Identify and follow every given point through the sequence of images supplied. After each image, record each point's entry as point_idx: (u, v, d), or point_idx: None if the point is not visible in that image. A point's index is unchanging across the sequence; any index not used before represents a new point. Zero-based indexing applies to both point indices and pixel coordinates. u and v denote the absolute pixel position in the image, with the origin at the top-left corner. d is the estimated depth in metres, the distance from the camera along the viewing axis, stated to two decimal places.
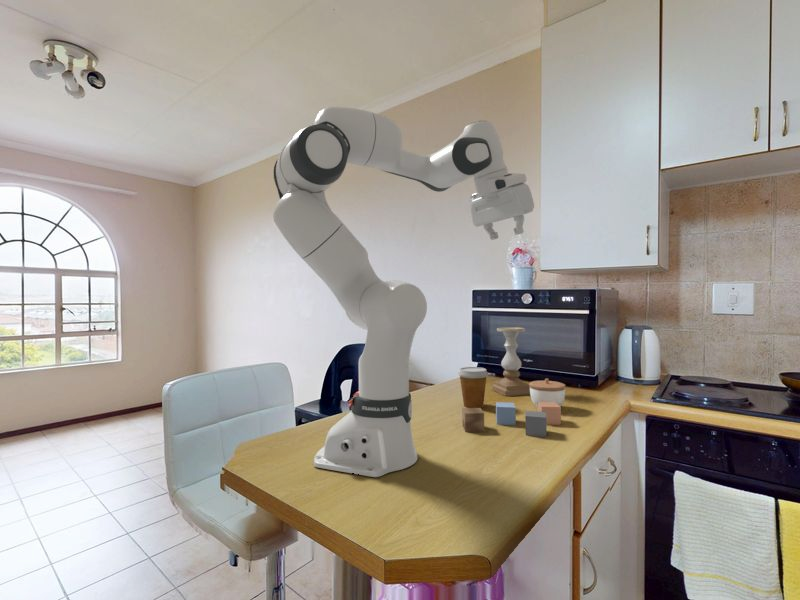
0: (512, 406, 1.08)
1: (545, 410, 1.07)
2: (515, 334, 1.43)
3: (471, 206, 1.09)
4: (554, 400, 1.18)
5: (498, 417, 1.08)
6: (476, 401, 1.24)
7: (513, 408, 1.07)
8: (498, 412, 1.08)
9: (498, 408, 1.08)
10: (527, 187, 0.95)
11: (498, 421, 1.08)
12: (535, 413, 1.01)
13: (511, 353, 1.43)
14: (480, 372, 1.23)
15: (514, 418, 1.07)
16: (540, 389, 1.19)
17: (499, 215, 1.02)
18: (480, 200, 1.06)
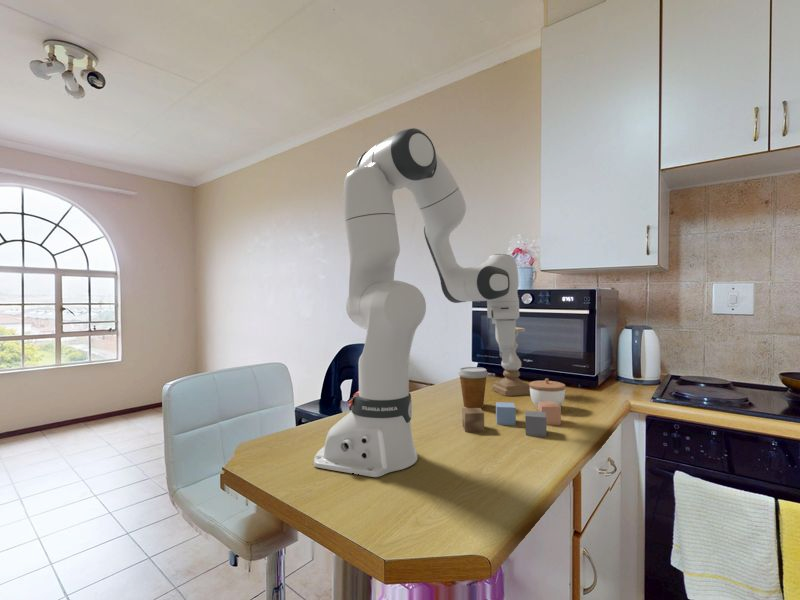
0: (512, 406, 1.08)
1: (545, 410, 1.07)
2: (515, 334, 1.43)
3: None
4: (554, 400, 1.18)
5: (498, 417, 1.08)
6: (476, 401, 1.24)
7: (513, 408, 1.07)
8: (498, 412, 1.08)
9: (498, 408, 1.08)
10: (512, 325, 1.01)
11: (498, 421, 1.08)
12: (534, 413, 1.01)
13: (511, 353, 1.43)
14: (480, 372, 1.23)
15: (514, 418, 1.07)
16: (540, 389, 1.19)
17: (497, 339, 1.10)
18: None
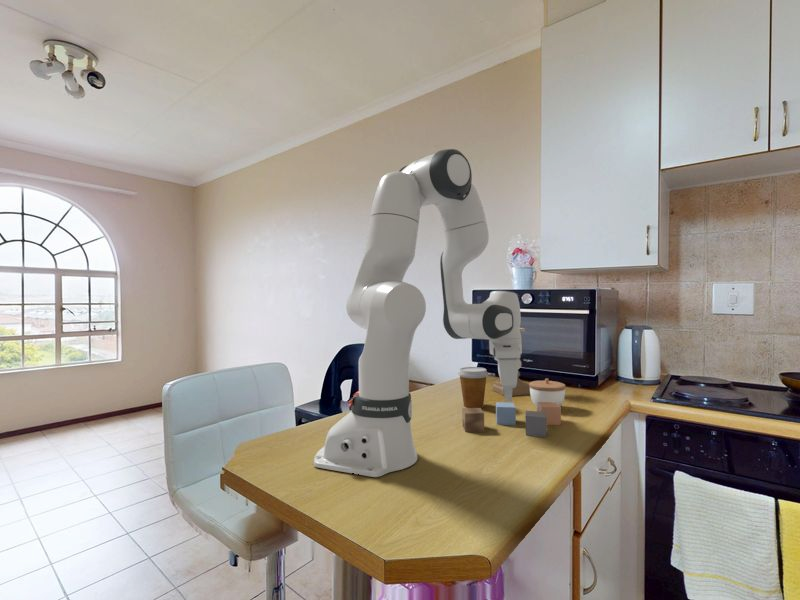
0: (512, 406, 1.08)
1: (545, 410, 1.07)
2: None
3: None
4: (554, 400, 1.18)
5: (498, 417, 1.08)
6: (476, 401, 1.24)
7: (513, 408, 1.07)
8: (498, 412, 1.08)
9: (498, 408, 1.08)
10: (515, 365, 1.00)
11: (498, 421, 1.08)
12: (535, 413, 1.01)
13: None
14: (480, 372, 1.23)
15: (514, 418, 1.07)
16: (540, 389, 1.19)
17: None
18: None
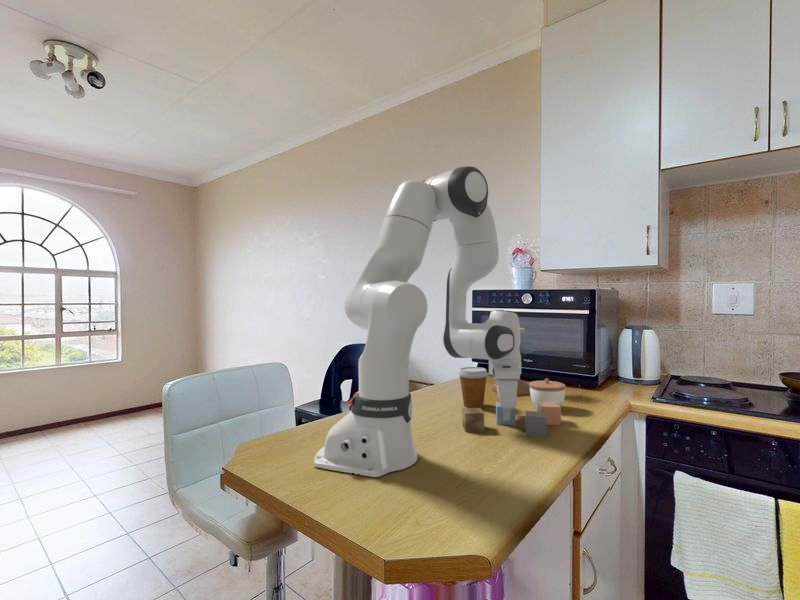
0: None
1: (545, 410, 1.07)
2: None
3: None
4: (554, 400, 1.18)
5: (498, 417, 1.08)
6: (476, 401, 1.24)
7: None
8: (498, 412, 1.08)
9: (498, 408, 1.08)
10: (514, 386, 1.00)
11: (498, 421, 1.08)
12: (534, 413, 1.01)
13: None
14: (480, 372, 1.23)
15: (514, 418, 1.07)
16: (540, 389, 1.19)
17: None
18: None
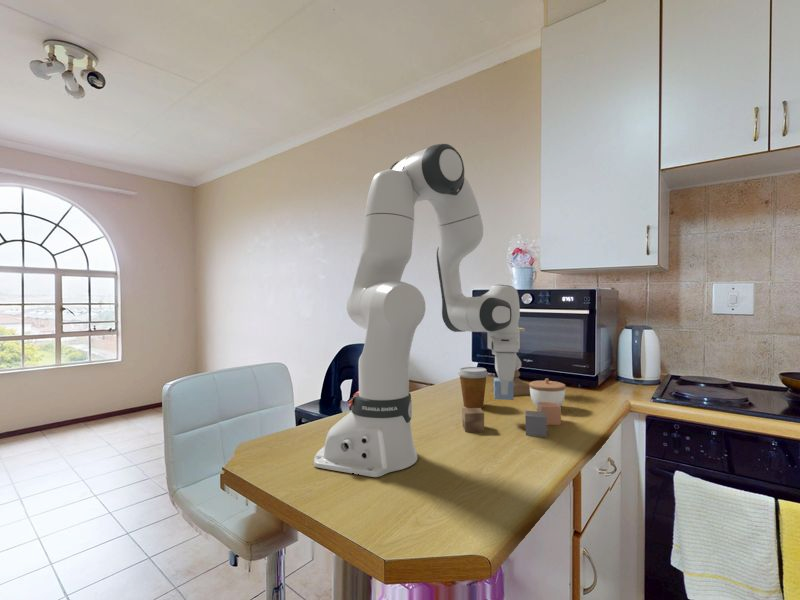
0: None
1: (545, 410, 1.07)
2: None
3: None
4: (554, 400, 1.18)
5: (496, 391, 1.07)
6: (476, 401, 1.24)
7: (511, 382, 1.07)
8: (496, 386, 1.07)
9: (496, 382, 1.07)
10: (512, 358, 1.00)
11: (496, 395, 1.07)
12: (534, 413, 1.01)
13: None
14: (480, 372, 1.23)
15: (512, 392, 1.07)
16: (540, 389, 1.19)
17: None
18: None
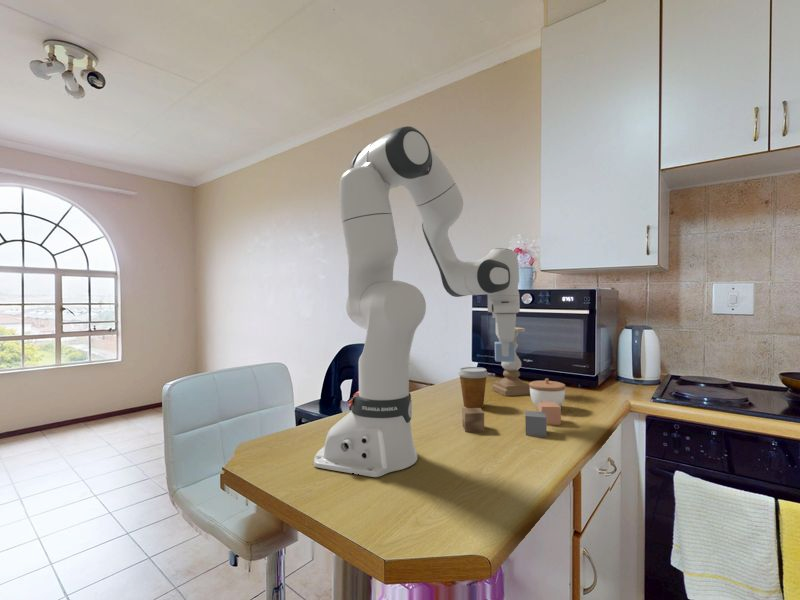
0: (511, 343, 1.09)
1: (545, 410, 1.07)
2: (515, 334, 1.43)
3: None
4: (554, 400, 1.18)
5: (497, 354, 1.09)
6: (476, 401, 1.24)
7: (512, 344, 1.08)
8: (497, 349, 1.09)
9: (497, 345, 1.09)
10: (512, 318, 1.01)
11: (497, 358, 1.09)
12: (534, 413, 1.01)
13: None
14: (480, 372, 1.23)
15: (513, 354, 1.08)
16: (540, 389, 1.19)
17: (497, 333, 1.10)
18: None
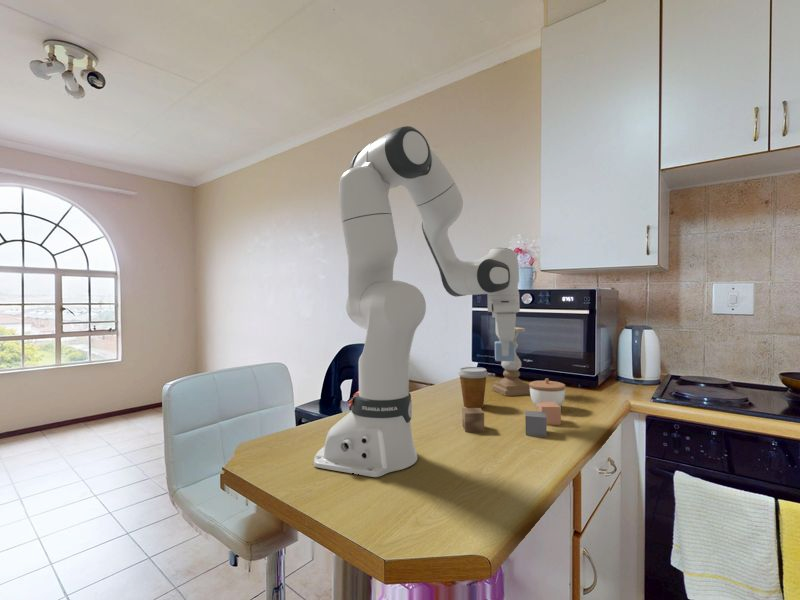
0: (511, 342, 1.09)
1: (545, 410, 1.07)
2: (515, 334, 1.43)
3: None
4: (554, 400, 1.18)
5: (497, 353, 1.09)
6: (476, 401, 1.24)
7: (512, 344, 1.08)
8: (497, 348, 1.09)
9: (497, 344, 1.09)
10: (512, 318, 1.01)
11: (497, 357, 1.09)
12: (534, 413, 1.01)
13: None
14: (480, 372, 1.23)
15: (513, 354, 1.08)
16: (540, 389, 1.19)
17: (497, 333, 1.10)
18: None
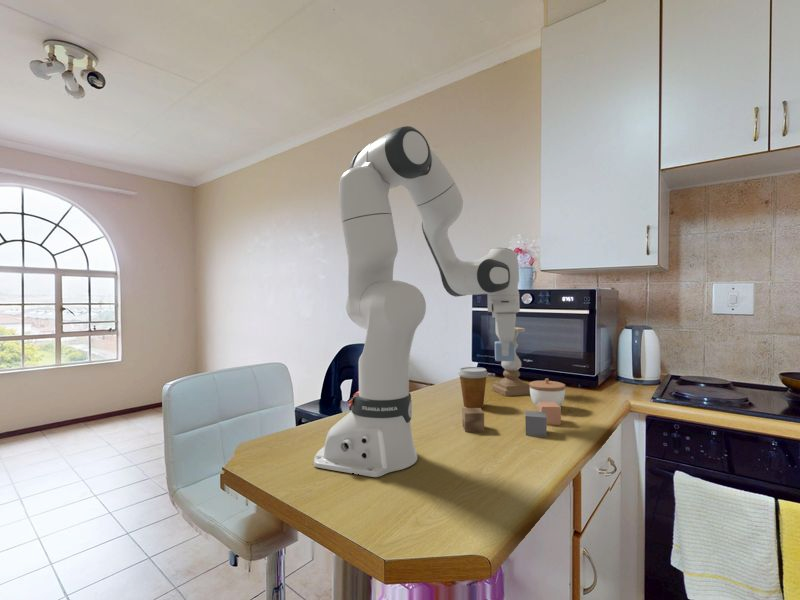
0: (511, 342, 1.09)
1: (545, 410, 1.07)
2: (515, 334, 1.43)
3: None
4: (554, 400, 1.18)
5: (497, 353, 1.09)
6: (476, 401, 1.24)
7: (512, 344, 1.08)
8: (497, 348, 1.09)
9: (497, 344, 1.09)
10: (512, 318, 1.01)
11: (497, 357, 1.09)
12: (534, 413, 1.01)
13: None
14: (480, 372, 1.23)
15: (513, 354, 1.08)
16: (540, 389, 1.19)
17: (497, 333, 1.10)
18: None
